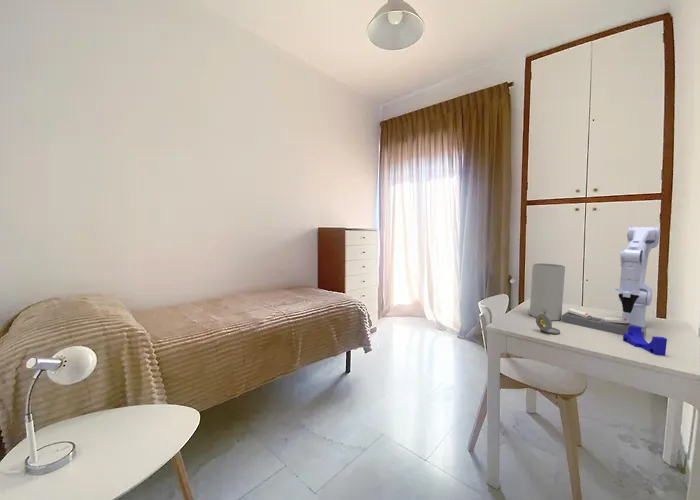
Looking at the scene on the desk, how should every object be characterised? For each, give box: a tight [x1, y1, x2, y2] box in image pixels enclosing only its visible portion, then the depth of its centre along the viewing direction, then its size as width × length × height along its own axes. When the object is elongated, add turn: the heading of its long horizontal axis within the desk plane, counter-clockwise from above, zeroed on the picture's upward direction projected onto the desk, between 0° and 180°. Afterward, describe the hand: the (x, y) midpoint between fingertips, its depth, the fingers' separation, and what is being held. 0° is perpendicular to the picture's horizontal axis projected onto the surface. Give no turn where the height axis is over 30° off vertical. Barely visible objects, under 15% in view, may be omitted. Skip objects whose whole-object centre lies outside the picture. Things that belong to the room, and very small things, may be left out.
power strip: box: [561, 311, 647, 339], centre depth 121 cm, size 8×26×4 cm, turn 40°
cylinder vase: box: [529, 262, 566, 322], centre depth 134 cm, size 12×12×25 cm
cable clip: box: [622, 326, 668, 356], centre depth 101 cm, size 12×4×6 cm, turn 169°
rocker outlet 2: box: [604, 316, 629, 324], centre depth 117 cm, size 4×7×2 cm, turn 40°
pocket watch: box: [535, 308, 561, 335], centre depth 115 cm, size 8×8×10 cm
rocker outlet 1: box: [567, 307, 591, 318], centre depth 126 cm, size 4×7×2 cm, turn 40°
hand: (627, 312), depth 114 cm, fingers closed
